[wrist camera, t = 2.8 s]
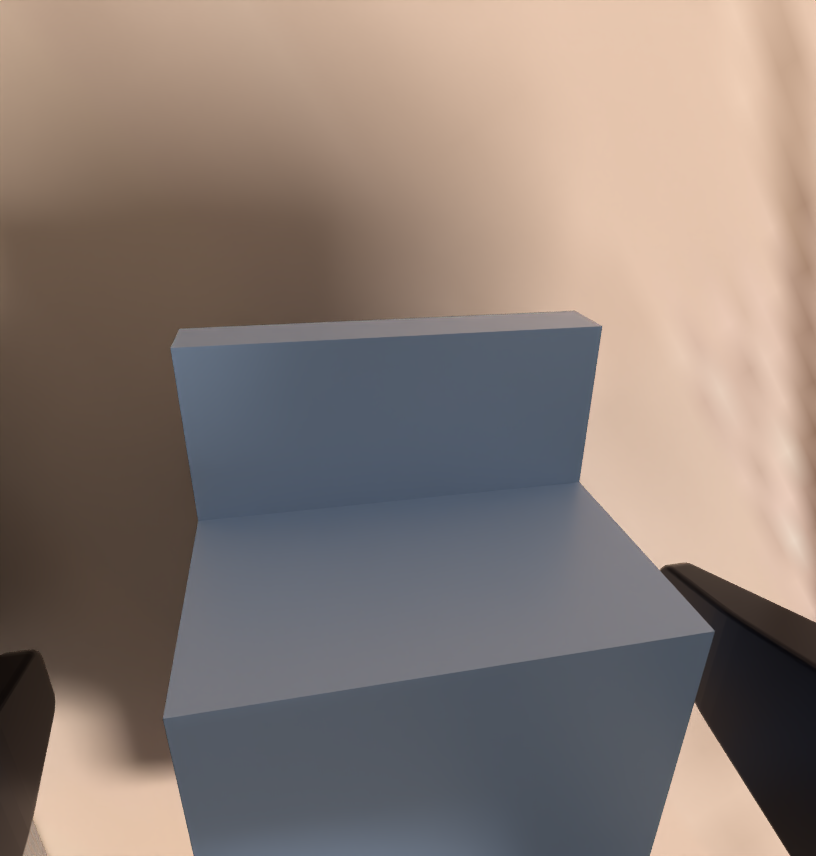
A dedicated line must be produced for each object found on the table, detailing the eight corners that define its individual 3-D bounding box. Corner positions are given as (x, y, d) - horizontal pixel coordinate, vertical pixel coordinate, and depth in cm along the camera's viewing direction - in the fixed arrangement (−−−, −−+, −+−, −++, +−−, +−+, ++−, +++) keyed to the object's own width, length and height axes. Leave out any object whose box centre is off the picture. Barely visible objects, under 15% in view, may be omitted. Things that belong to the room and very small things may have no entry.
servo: (506, 272, 8) (854, 467, 3) (469, 749, 12) (604, 1153, 7) (200, 282, 8) (77, 548, 3) (267, 786, 12) (267, 1266, 7)
